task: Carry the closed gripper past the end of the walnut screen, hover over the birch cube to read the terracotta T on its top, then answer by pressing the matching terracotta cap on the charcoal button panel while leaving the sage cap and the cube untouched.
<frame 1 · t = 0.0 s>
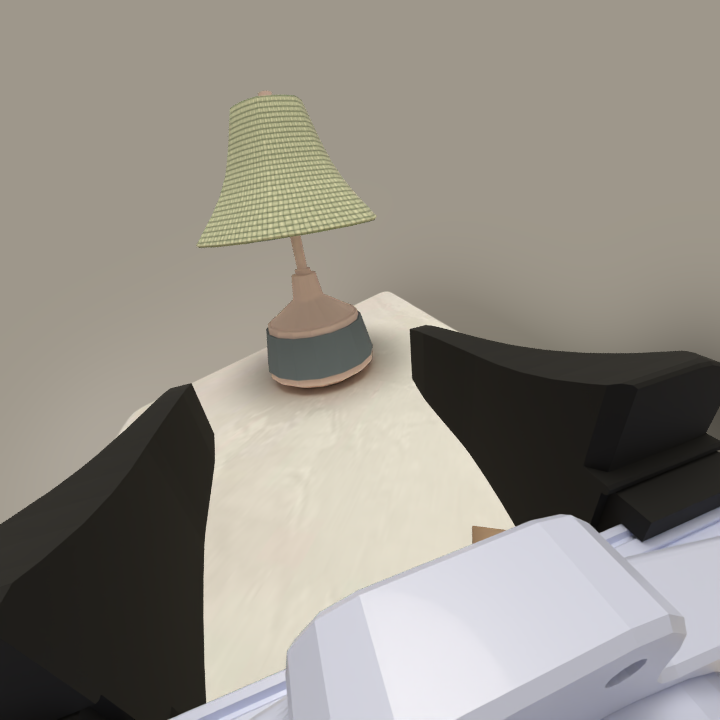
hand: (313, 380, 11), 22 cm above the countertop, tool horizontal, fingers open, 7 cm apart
desk lamp: (324, 370, 62), on the countertop
screen: (549, 604, 23), on the countertop
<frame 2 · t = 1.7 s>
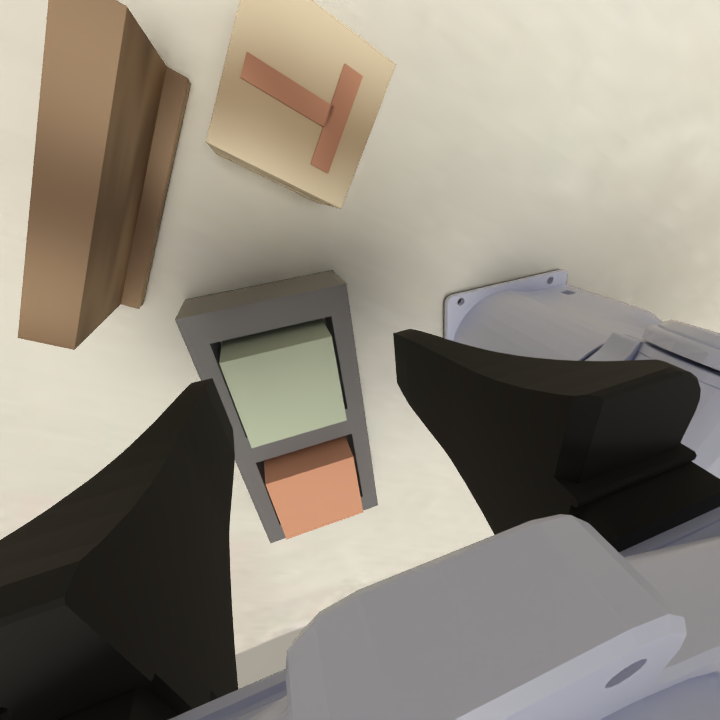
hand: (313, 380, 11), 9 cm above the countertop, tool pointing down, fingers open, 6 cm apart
cap terracotta: (315, 484, 22), point 3 cm above the countertop, slide at 0.0 cm
button panel: (295, 407, 23), on the countertop
cube: (287, 124, 16), on the countertop
cap sage: (287, 382, 18), point 3 cm above the countertop, slide at 0.0 cm
screen: (126, 189, 15), on the countertop
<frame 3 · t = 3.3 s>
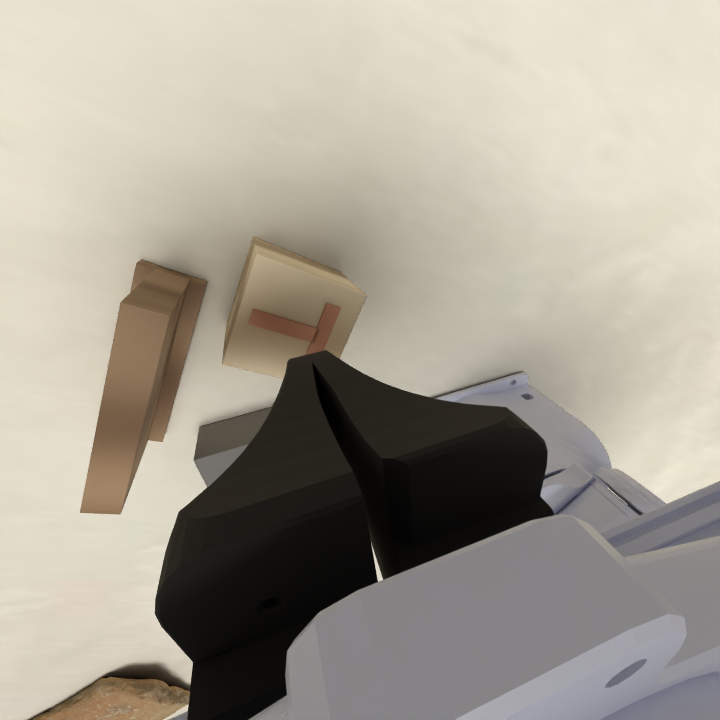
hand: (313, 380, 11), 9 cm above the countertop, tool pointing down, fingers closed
stone: (101, 707, 32), on the countertop
button panel: (292, 495, 26), on the countertop
cube: (284, 297, 19), on the countertop
screen: (154, 357, 18), on the countertop
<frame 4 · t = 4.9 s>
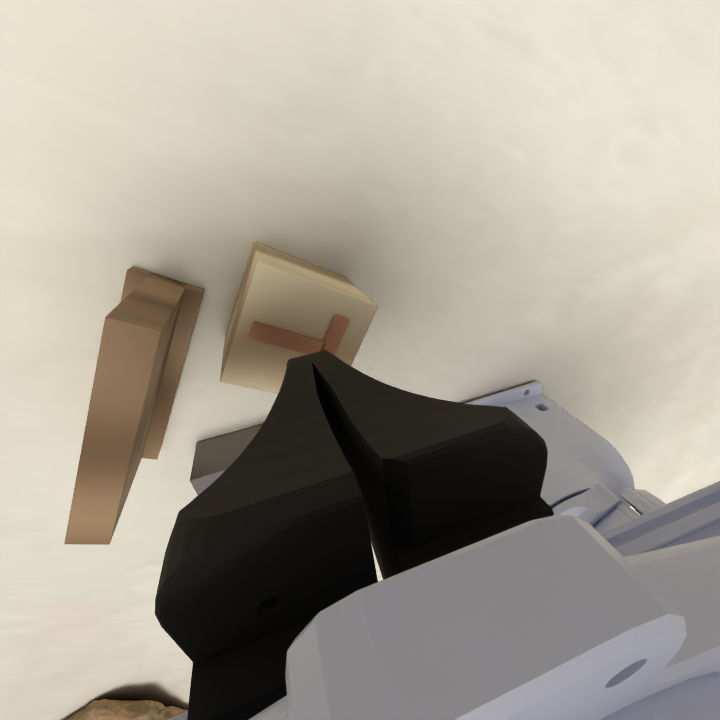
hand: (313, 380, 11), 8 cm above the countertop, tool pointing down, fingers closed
button panel: (294, 511, 25), on the countertop
cube: (287, 305, 18), on the countertop
screen: (147, 370, 17), on the countertop
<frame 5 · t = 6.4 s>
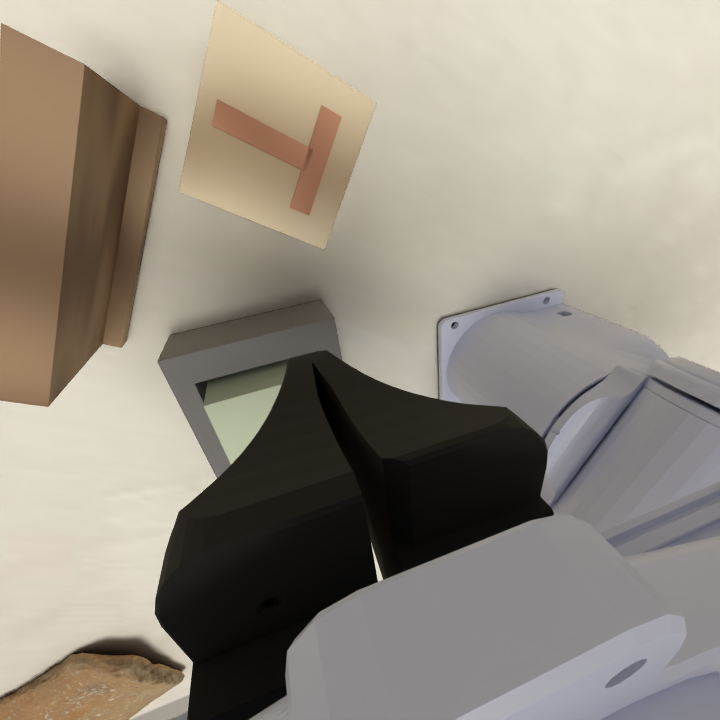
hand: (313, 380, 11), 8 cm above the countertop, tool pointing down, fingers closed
stone: (78, 689, 28), on the countertop
button panel: (287, 434, 22), on the countertop
cube: (269, 156, 15), on the countertop
cap sage: (276, 417, 17), point 3 cm above the countertop, slide at 0.0 cm
screen: (104, 229, 14), on the countertop
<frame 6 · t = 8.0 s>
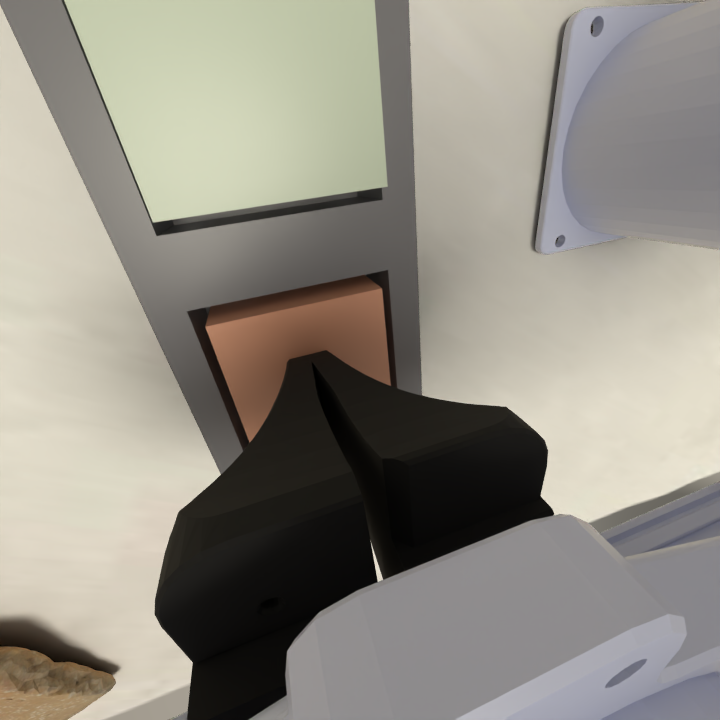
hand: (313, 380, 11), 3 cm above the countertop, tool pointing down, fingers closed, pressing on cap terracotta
cap terracotta: (308, 363, 12), point 2 cm above the countertop, slide at 1.1 cm, touching gripper
button panel: (276, 239, 12), on the countertop
cap sage: (244, 68, 7), point 3 cm above the countertop, slide at 0.0 cm
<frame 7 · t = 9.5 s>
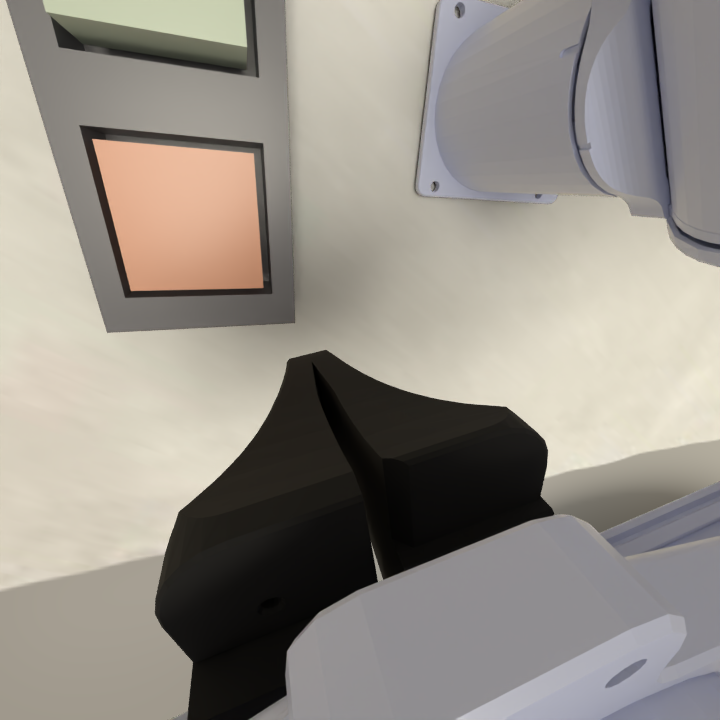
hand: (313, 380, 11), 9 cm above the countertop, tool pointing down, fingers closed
cap terracotta: (194, 221, 14), point 2 cm above the countertop, slide at 1.1 cm
button panel: (185, 115, 14), on the countertop
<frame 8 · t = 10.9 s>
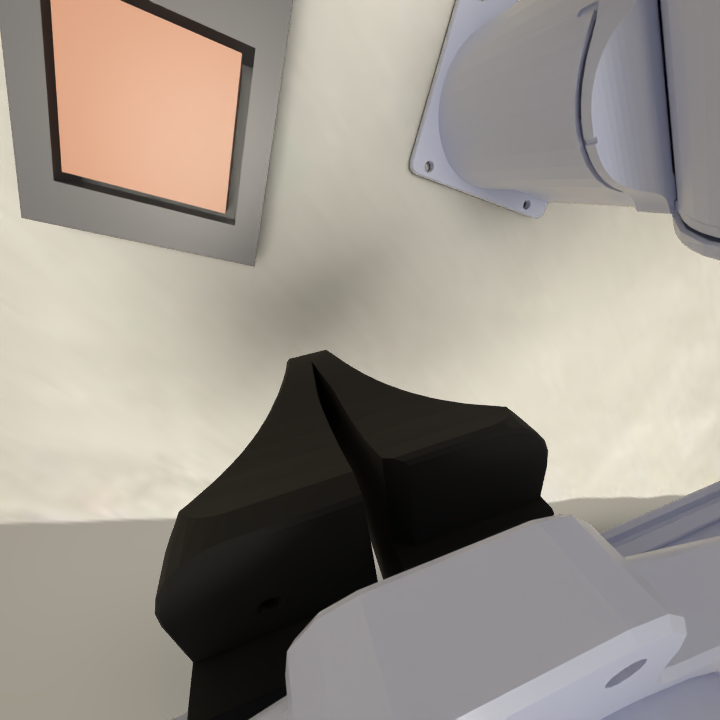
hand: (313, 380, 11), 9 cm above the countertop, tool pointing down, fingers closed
cap terracotta: (159, 118, 12), point 2 cm above the countertop, slide at 1.1 cm
button panel: (175, 5, 13), on the countertop
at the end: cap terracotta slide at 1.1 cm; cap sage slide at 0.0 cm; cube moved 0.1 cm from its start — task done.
